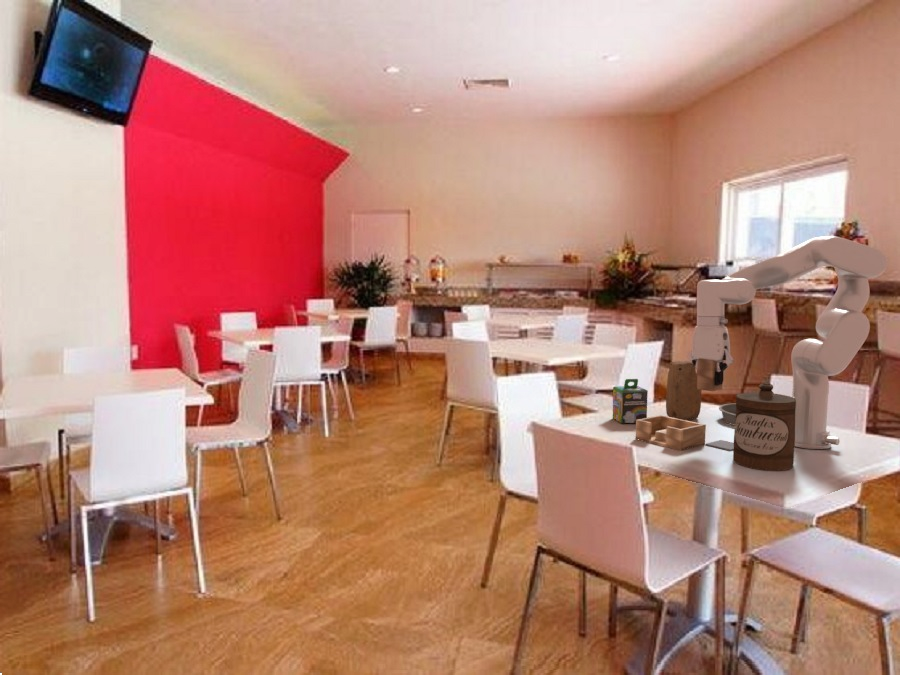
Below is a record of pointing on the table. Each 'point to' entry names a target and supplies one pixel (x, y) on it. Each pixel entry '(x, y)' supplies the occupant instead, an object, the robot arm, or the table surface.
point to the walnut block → (706, 375)
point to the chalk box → (629, 402)
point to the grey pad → (722, 445)
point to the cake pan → (728, 412)
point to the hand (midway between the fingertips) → (710, 382)
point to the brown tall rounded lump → (682, 391)
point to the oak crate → (670, 432)
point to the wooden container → (764, 430)
